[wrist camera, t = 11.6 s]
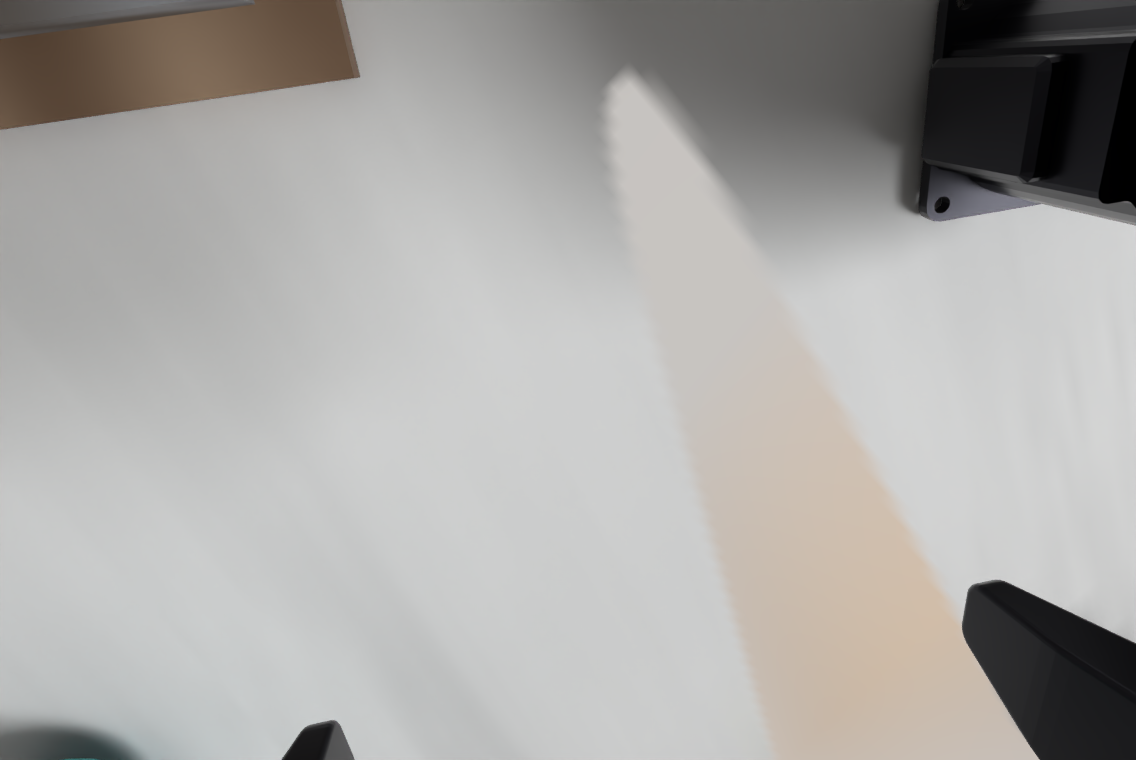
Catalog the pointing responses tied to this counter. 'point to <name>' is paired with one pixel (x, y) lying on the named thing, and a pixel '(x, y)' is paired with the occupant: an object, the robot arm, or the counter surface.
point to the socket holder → (161, 53)
